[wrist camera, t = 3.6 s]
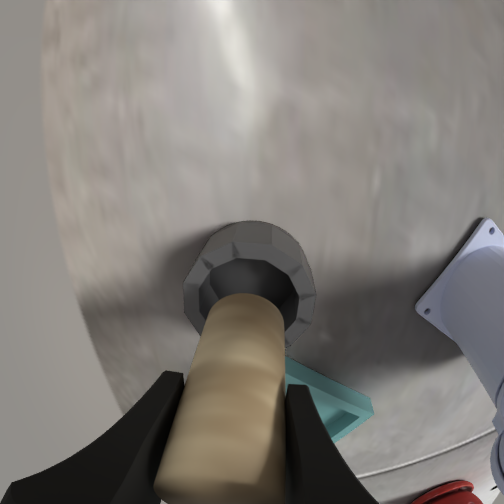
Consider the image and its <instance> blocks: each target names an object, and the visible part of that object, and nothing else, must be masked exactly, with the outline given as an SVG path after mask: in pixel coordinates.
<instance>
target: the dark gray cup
mask: <svg viewBox="0 0 504 504" xmlns="http://www.w3.org/2000/svg"><path fill="white" fill-rule="evenodd" d="M183 292H184V313H185V314H186V316H187V317H188V319H189V320H190V322H191V323H192V325H193V326H194V327H195V329H196V330H197V332H198V333H199V335H200V336H201V334H202V331H203V328H204V325H205V322H206V319H207V316H208V314H209V311H210V310H211V308H212V307H213V305H214V304H215V303H216V302H218V301H219V300H220V299H222V298H224V297H226V296H229V295H232V294H238V293H248V294H254V295H258V296H261V297H263V298H265V299H267V300H268V301H270V302H271V303H273V304H274V305H275V306H276V307H277V309H278V310H279V311H280V313H281V315H282V317H283V320H284V334H285V348H286V347H288V346H291V345H292V344H293V343H294V342H295V340H296V339H297V338H298V337H299V336H300V335H301V334H302V333H303V332H304V331H305V330H306V329H307V328H308V327H309V325H310V324H311V321H312V315H313V310H314V304H315V298H316V291H315V286H314V282H313V277H312V272H311V268H310V266H309V264H308V262H307V260H306V257H305V254H304V252H303V250H302V248H301V246H300V245H299V242H297V241H296V240H295V239H294V238H293V237H292V236H291V235H290V234H289V233H287V232H286V231H285V230H283V229H281V228H280V227H278V226H275V225H273V224H270V223H266V222H261V221H242V222H237V223H233V224H231V225H228V226H226V227H224V228H222V229H221V230H219V231H218V232H216V233H215V234H213V235H211V237H210V239H209V240H208V242H207V243H206V244H205V246H204V248H203V249H202V251H201V253H200V254H199V256H198V257H197V259H196V260H195V262H194V264H193V266H192V268H191V269H190V271H189V273H188V275H187V277H186V279H185V280H184V282H183Z"/></svg>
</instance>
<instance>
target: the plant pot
mask: <svg viewBox="0 0 504 504" xmlns="http://www.w3.org/2000/svg"><path fill="white" fill-rule="evenodd" d="M473 489H474V486H473V484H472V483H470V482H468V481H456V482H452V483H448V484H445V485H442V486H440V487H437V488H435V489H433V490H431V491H429V492H427V493H425V494H424V495H422V496H420V497H419V498H417V499H415V500H414V502H412V503H411V504H483V503H482V502H481V500H480V499H479V498H478V497H477V496H476V495H474V494H473V493H471V492H472V491H473Z"/></svg>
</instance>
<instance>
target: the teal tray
mask: <svg viewBox="0 0 504 504" xmlns="http://www.w3.org/2000/svg"><path fill="white" fill-rule="evenodd" d="M288 384H302V385H307V386H308V387H309V390H310V393H311V396H312V398H313V401H314V403H315V406H316V408H317V411H318V413H319V415H320V417H321V419H322V422H323V424H324V426H325V428H326V429H327V431H328V433H329V435H330V437H331V439H332V441H333V443H335V442H337V441H338V440H340V439H341V438H343V437H344V436H345V435H347V434H348V433H350V432H351V431H352V430H354V429H355V428H357V427H358V426H359V425H361V424H362V423H363V422H365V421H366V420H367V419H369V418H370V417H371V416H372V415H374V411H373V407H372V404H371V400H370V398H369V397H367V396H365V395H363V394H360V393H358V392H356V391H354V390H352V389H350V388H348V387H346V386H344V385H342V384H340V383H337V382H335V381H333V380H331V379H329V378H327V377H325V376H323V375H321V374H319V373H317V372H315V371H313V370H311V369H309V368H308V367H306V366H304V365H302V364H300V363H298V362H296V361H294V360H292V359H290V358H288V357H286V356H285V391H286V392H287V387H288Z"/></svg>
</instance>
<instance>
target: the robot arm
mask: <svg viewBox="0 0 504 504" xmlns="http://www.w3.org/2000/svg"><path fill="white" fill-rule="evenodd" d="M491 227H492V230H491V231H490V232H489V230H490V228H491ZM427 308H429V309H428V310H427V311H426V312H424V311H425V310H426V309H427ZM415 310H416V311H417V313H418V314H419V315H421V316H422V317H423V318H425V319H426V320H427V321H429V322H430V323H431V324H433V325H434V326H435V327H436V328H438V329H439V330H440V331H442V332H443V333H444V334H445V335H447V336H448V337H449V338H451V339H452V340H453V341H454V342H456V343H457V345H458V346H459V348H460V349H461V351H462V352H463V354H464V355H465V357H466V358H467V360H468V362H469V363H470V365H471V366H472V368H473V370H474V371H475V373H476V374H477V376H478V378H479V379H480V381H481V383H482V384H483V386H484V388H485V389H486V391H487V393H488V395H489V396H490V398H491V400H492V401H493V403H494V405H495V407H496V408H497V413H496V415H495V417H494V419H493V420H492V422H493V424H494V426H495V428H496V430H497V432H498V434H499V435H498V437H497V438H496V440H495V442H494V444H493V447H492V451H491V458H490V462H491V470H492V475H493V477H494V480H495V483H496V484H497V486H498V488H499V490H500V491H501V492H502V494H503V495H504V235H503V234H502V232H501V231H500V230H499V228H498V227H497V226H496V225H495V223H494V222H493V221H492V220H491V219H489V218H484V219H483V220H482V221H481V222H480V224H479V225H478V227H477V228H476V229H475V231H474V232H473V234H472V235H471V236H470V238H469V239H468V240H467V242H466V243H465V244H464V246H463V247H462V248H461V250H460V251H459V252H458V254H457V255H456V256H455V257H454V259H453V260H452V261H451V262H450V264H449V265H448V266H447V267H446V269H445V270H444V271H443V272H442V274H441V275H440V276H439V277H438V278H437V280H436V281H435V282H434V283H433V284H432V286H431V287H430V288H429V289H428V290H427V291H426V293H425V294H424V295H423V296H422V297H421V298H420V299H419V301H418V302H417V303H416V305H415ZM183 389H184V378H183V373H179V372H172V371H164V372H163V373H162V374H161V376H160V377H159V378H158V379H157V380H156V382H155V383H154V384H153V385H152V386H151V388H150V389H149V390H148V391H147V392H146V393H145V394H144V395H143V397H142V398H141V399H140V400H139V401H138V402H137V403H136V404H135V405H134V406H133V407H132V408H131V409H130V410H129V411H128V412H127V413H126V414H125V415H124V416H123V417H122V418H121V419H120V420H119V421H118V422H116V423H115V424H114V425H113V426H112V427H111V428H110V429H109V430H107V431H106V432H105V433H104V434H103V435H101V436H100V437H99V438H97V439H96V440H95V441H93V442H92V443H91V444H89V445H88V446H86V447H85V448H83V449H82V450H80V451H79V452H77V453H76V454H74V455H73V456H71V457H69V458H67V459H66V460H64V461H62V462H60V463H58V464H56V465H54V466H52V467H50V468H48V469H46V470H44V471H42V472H39V473H37V474H34V475H32V476H29V477H26V478H23V479H21V480H18V481H15V482H12V483H11V485H10V486H9V488H8V489H7V491H6V493H5V495H4V497H3V499H2V501H1V503H0V504H160V503H161V498H159V497H158V495H157V494H156V493H155V491H154V488H153V485H154V482H155V478H156V475H157V472H158V468H159V465H160V462H161V459H162V455H163V452H164V449H165V446H166V443H167V439H168V436H169V433H170V430H171V427H172V423H173V420H174V417H175V414H176V411H177V408H178V405H179V401H180V398H181V395H182V392H183ZM285 409H286V480H285V504H379V503H378V502H377V501H376V500H375V499H374V498H373V497H372V496H371V494H370V493H369V492H368V491H367V490H366V489H365V488H364V486H363V485H362V484H361V483H360V481H359V480H358V479H357V478H356V476H355V475H354V473H353V472H352V471H351V469H350V468H349V467H348V465H347V464H346V462H345V461H344V459H343V458H342V456H341V454H340V453H339V451H338V449H337V448H336V446H335V444H334V443H333V441H332V439H331V437H330V435H329V433H328V431H327V429H326V428H325V426H324V424H323V422H322V419H321V417H320V415H319V413H318V411H317V408H316V406H315V403H314V401H313V398H312V396H311V393H310V390H309V387H308V386H307V385H302V384H288V387H287V392H286V397H285Z"/></svg>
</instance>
